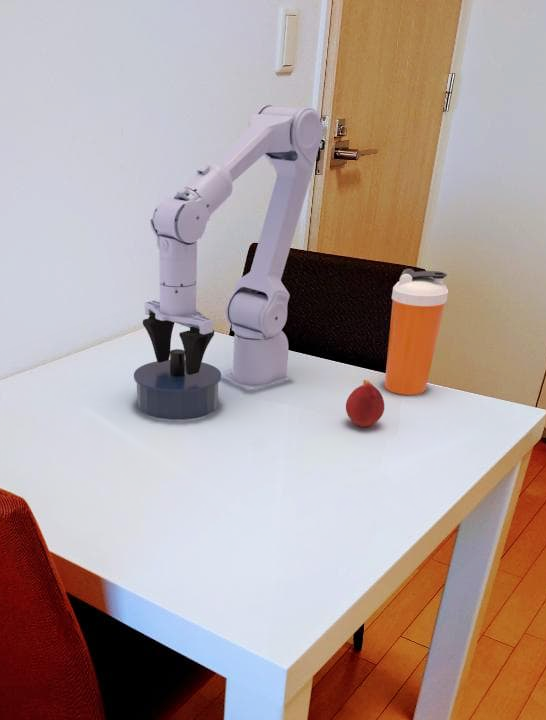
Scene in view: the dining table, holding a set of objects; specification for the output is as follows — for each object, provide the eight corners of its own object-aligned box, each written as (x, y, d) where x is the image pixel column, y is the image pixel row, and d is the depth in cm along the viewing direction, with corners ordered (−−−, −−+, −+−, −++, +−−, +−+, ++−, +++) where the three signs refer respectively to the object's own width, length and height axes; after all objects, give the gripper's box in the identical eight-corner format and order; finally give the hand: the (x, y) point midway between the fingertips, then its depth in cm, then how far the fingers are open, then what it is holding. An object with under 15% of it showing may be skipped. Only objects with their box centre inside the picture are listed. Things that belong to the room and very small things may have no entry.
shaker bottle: (432, 399, 138) (454, 279, 128) (379, 395, 140) (396, 277, 129) (429, 380, 146) (448, 267, 135) (378, 377, 147) (394, 264, 137)
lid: (187, 360, 142) (187, 332, 139) (238, 384, 132) (240, 355, 129) (117, 376, 135) (116, 348, 132) (166, 403, 125) (166, 372, 122)
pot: (186, 386, 144) (186, 358, 141) (233, 410, 134) (234, 380, 132) (122, 403, 137) (121, 373, 135) (167, 429, 128) (167, 397, 125)
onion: (378, 421, 130) (385, 374, 126) (383, 436, 125) (390, 387, 121) (341, 420, 131) (347, 373, 126) (345, 435, 126) (351, 386, 122)
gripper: (129, 277, 128) (131, 360, 135) (189, 296, 118) (188, 384, 125) (163, 270, 131) (164, 352, 139) (224, 288, 122) (221, 374, 129)
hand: (177, 367), depth 132 cm, fingers open, 7 cm apart
